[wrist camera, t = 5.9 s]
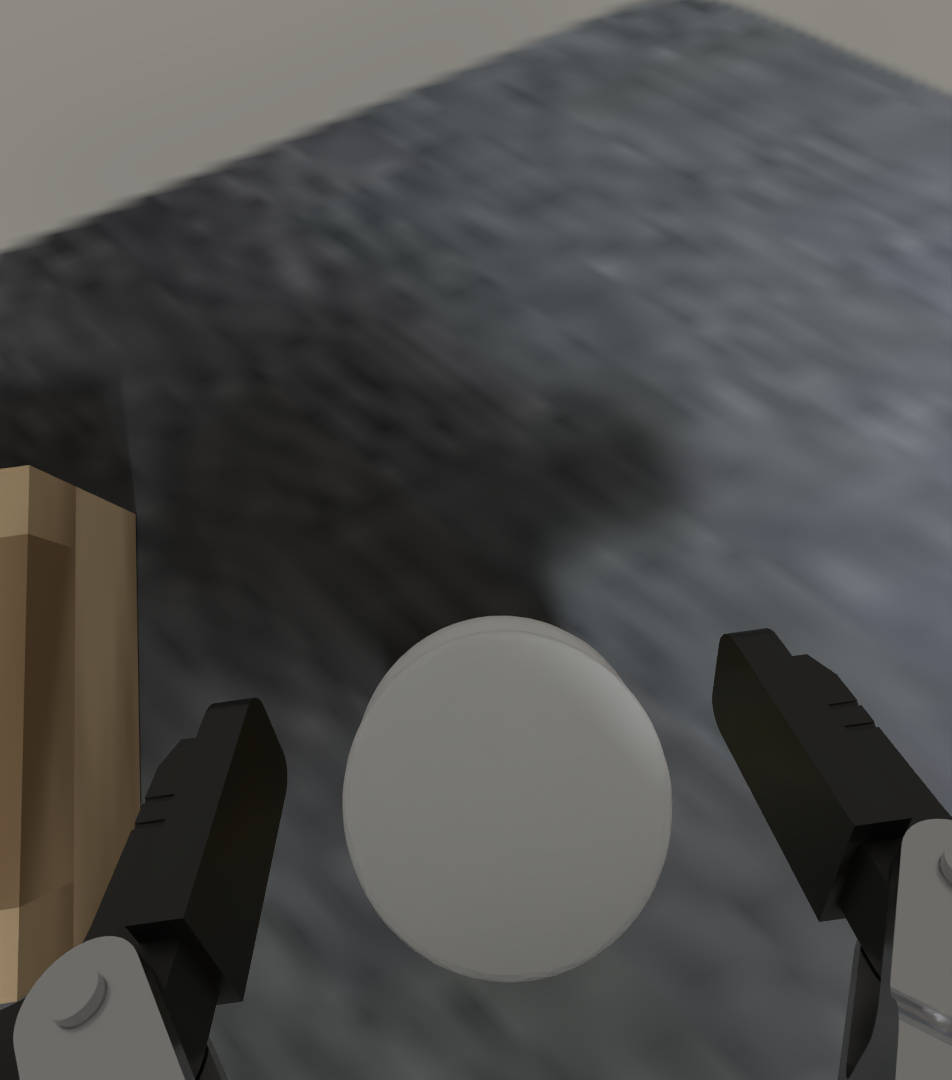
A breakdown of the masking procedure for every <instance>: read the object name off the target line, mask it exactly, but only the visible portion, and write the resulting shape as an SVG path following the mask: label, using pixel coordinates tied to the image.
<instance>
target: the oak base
mask: <svg viewBox="0 0 952 1080" xmlns="http://www.w3.org/2000/svg"><path fill="white" fill-rule="evenodd" d="M139 811H140V753H139V692H138V632H137V571H136V514H134V513H132V512H130V511H128V510H126V509H123V508H121V507H119V506H117V505H115V504H113V503H110V502H108V501H106V500H104V499H102V498H100V497H97V496H95V495H93V494H91V493H89V492H87V491H84V490H82V489H80V488H78V487H76V486H74V485H71V484H69V483H67V482H65V481H63V480H61V479H58V478H56V477H54V476H52V475H50V474H48V473H45V472H43V471H41V470H39V469H37V468H35V467H32V466H30V465H26V466H19V467H12V468H4V469H0V1004H2V1003H9V1002H16V1001H18V1000H20V999H21V998H23V997H24V996H25V995H27V994H28V993H29V991H30V990H31V989H32V987H33V986H34V984H35V983H36V981H37V980H38V979H39V978H40V977H41V976H42V974H43V973H44V972H45V971H46V970H47V969H48V968H49V967H50V966H51V965H52V964H53V963H54V962H55V961H56V960H58V959H59V958H60V957H61V956H63V955H64V954H65V953H66V952H68V951H70V950H71V949H73V948H74V947H76V946H78V945H80V944H82V942H83V940H84V939H85V937H86V935H87V933H88V931H89V929H90V927H91V925H92V922H93V920H94V917H95V915H96V913H97V910H98V908H99V906H100V903H101V901H102V899H103V896H104V894H105V891H106V889H107V887H108V884H109V882H110V880H111V877H112V875H113V873H114V870H115V868H116V865H117V863H118V861H119V858H120V856H121V854H122V851H123V849H124V846H125V844H126V842H127V839H128V837H129V835H130V832H131V830H134V828H135V824H134V823H135V820H136V818H137V816H138V813H139Z"/></svg>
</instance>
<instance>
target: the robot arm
mask: <svg viewBox="0 0 952 1080" xmlns="http://www.w3.org/2000/svg"><path fill="white" fill-rule="evenodd" d="M712 704H713V711H714V716H715V719H716V722H717V725H718V728H719V730H720V732H721V734H722V736H723V738H724V740H725V742H726V744H727V746H728V748H729V750H730V752H731V754H732V756H733V757H734V759H735V761H736V763H737V765H738V767H739V769H740V771H741V773H742V775H743V777H744V779H745V781H746V782H747V784H748V786H749V788H750V790H751V792H752V794H753V796H754V798H755V800H756V802H757V804H758V805H759V807H760V809H761V811H762V813H763V815H764V817H765V819H766V821H767V823H768V825H769V827H770V828H771V830H772V832H773V834H774V836H775V838H776V840H777V842H778V844H779V846H780V848H781V850H782V851H783V853H784V855H785V857H786V859H787V861H788V863H789V865H790V867H791V869H792V871H793V873H794V874H795V876H796V878H797V880H798V882H799V884H800V886H801V888H802V890H803V892H804V894H805V896H806V897H807V899H808V901H809V903H810V905H811V907H812V909H813V911H814V913H815V915H816V917H817V919H818V920H819V922H822V921H829V920H836V919H843V918H846V919H847V921H848V923H849V924H850V926H851V928H852V930H853V932H854V933H855V935H856V937H857V939H858V940H857V942H856V946H855V950H854V958H853V965H852V973H851V981H850V989H849V997H848V1005H847V1012H846V1020H845V1028H844V1036H843V1044H842V1052H841V1059H840V1067H839V1075H838V1080H952V817H951V816H950V815H949V813H948V812H947V811H946V810H945V809H944V808H943V806H942V805H941V804H940V803H939V802H938V800H937V799H936V798H935V797H934V795H933V794H932V793H931V792H930V790H929V789H928V788H927V787H926V785H925V784H924V783H923V782H922V780H921V779H920V778H919V777H918V775H917V774H916V773H915V772H914V770H913V769H912V768H911V767H910V765H909V764H908V763H907V762H906V760H905V759H904V758H903V757H902V755H901V754H900V753H899V752H898V750H897V749H896V748H895V747H894V745H893V744H892V743H891V742H890V740H889V739H888V738H887V737H886V735H885V734H884V733H883V732H882V730H881V729H880V728H879V727H876V726H875V724H874V720H873V719H872V718H871V717H870V715H869V714H868V713H867V712H866V710H865V709H864V708H863V707H862V705H860V706H859V705H858V703H857V699H856V698H855V697H854V696H853V694H852V693H851V692H850V691H849V689H848V688H847V687H846V686H845V684H844V683H843V682H842V681H841V679H840V678H839V677H838V676H837V674H835V673H834V672H832V671H831V670H829V669H828V668H826V667H825V666H823V665H822V664H820V663H819V662H818V661H816V660H815V659H813V658H812V657H810V656H809V655H807V654H805V655H798V656H792V655H791V654H790V652H789V651H788V650H787V648H786V647H785V646H784V644H783V643H782V642H781V640H780V639H779V638H778V636H777V635H776V634H775V633H774V632H773V631H772V630H770V629H768V628H765V629H758V630H751V631H743V632H736V633H729V634H724V635H722V637H721V639H720V642H719V649H718V656H717V664H716V671H715V678H714V686H713V693H712ZM286 789H287V766H286V760H285V756H284V753H283V750H282V748H281V746H280V743H279V741H278V739H277V736H276V734H275V732H274V729H273V727H272V725H271V722H270V720H269V718H268V715H267V713H266V710H265V708H264V706H263V704H262V702H261V701H260V700H259V699H258V698H250V699H243V700H236V701H229V702H222V703H214V704H212V705H210V706H209V708H208V709H207V711H206V713H205V716H204V718H203V721H202V724H201V726H200V729H199V732H198V734H197V737H196V738H191V739H183V740H181V741H180V742H179V743H178V744H177V745H176V747H175V748H174V749H173V750H172V751H171V753H170V754H169V755H168V756H167V757H166V758H165V760H164V761H163V762H162V763H161V764H160V766H159V767H158V768H157V771H156V773H155V775H154V778H153V780H152V783H151V785H150V787H149V790H148V792H147V794H146V797H145V800H146V801H145V804H142V806H141V809H140V811H139V813H138V816H137V818H136V820H135V823H134V824H135V828H134V830H131V832H130V835H129V837H128V839H127V842H126V844H125V846H124V849H123V851H122V854H121V856H120V858H119V861H118V863H117V865H116V868H115V870H114V873H113V875H112V877H111V880H110V882H109V884H108V887H107V889H106V891H105V894H104V896H103V899H102V901H101V903H100V906H99V908H98V910H97V913H96V915H95V917H94V920H93V922H92V925H91V927H90V929H89V931H88V933H87V935H86V937H85V939H84V940H83V942H82V944H80V945H78V946H76V947H74V948H73V949H71V950H70V951H68V952H66V953H65V954H64V955H63V956H61V957H60V958H59V959H58V960H56V961H55V962H54V963H53V964H52V965H51V966H50V967H49V968H48V969H47V970H46V971H45V972H44V973H43V974H42V976H41V977H40V978H39V979H38V980H37V981H36V983H35V984H34V986H33V987H32V989H31V990H30V991H29V993H28V995H27V997H26V998H24V999H22V1000H21V1001H19V1002H17V1003H15V1004H13V1005H11V1006H9V1007H7V1008H4V1009H2V1010H0V1080H228V1078H227V1076H226V1074H225V1071H224V1069H223V1067H222V1064H221V1062H220V1060H219V1057H218V1055H217V1053H216V1050H215V1048H214V1046H213V1043H212V1041H211V1039H210V1038H209V1033H210V1029H211V1024H212V1020H213V1016H214V1012H215V1007H216V1005H220V1004H227V1003H234V1002H241V1001H243V998H244V993H245V988H246V984H247V979H248V974H249V969H250V964H251V959H252V954H253V950H254V945H255V940H256V935H257V930H258V925H259V920H260V916H261V911H262V906H263V901H264V896H265V891H266V886H267V882H268V877H269V872H270V867H271V862H272V857H273V853H274V848H275V843H276V838H277V833H278V828H279V823H280V819H281V814H282V809H283V804H284V799H285V794H286Z"/></svg>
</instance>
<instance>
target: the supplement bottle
mask: <svg viewBox="0 0 952 1080" xmlns="http://www.w3.org/2000/svg"><path fill="white" fill-rule="evenodd" d="M343 823H344V831H345V837H346V843H347V848H348V851H349V854H350V858H351V861H352V864H353V867H354V871H355V873H356V875H357V877H358V880H359V882H360V884H361V886H362V888H363V890H364V892H365V894H366V896H367V898H368V899H369V901H370V903H371V904H372V906H373V907H374V909H375V910H376V912H377V913H378V915H379V916H380V917H381V919H382V920H383V921H384V922H385V924H386V925H387V926H388V927H389V928H390V929H391V930H392V931H393V932H394V933H395V934H396V935H397V936H398V937H399V938H400V939H401V940H402V941H403V942H404V943H406V944H407V945H408V946H409V947H411V948H412V949H413V950H414V951H416V952H417V953H419V954H420V955H422V956H423V957H425V958H427V959H428V960H430V961H431V962H433V963H434V964H436V965H438V966H440V967H443V968H445V969H447V970H450V971H452V972H454V973H457V974H460V975H464V976H468V977H472V978H475V979H480V980H484V981H492V982H526V981H534V980H539V979H543V978H548V977H552V976H555V975H558V974H561V973H564V972H566V971H569V970H571V969H573V968H575V967H577V966H579V965H581V964H583V963H585V962H587V961H588V960H590V959H591V958H593V957H594V956H596V955H598V954H599V953H600V952H602V951H603V950H605V949H606V948H607V947H609V946H610V945H611V944H612V943H613V942H614V941H615V940H617V939H618V938H619V937H620V936H621V935H622V934H623V933H624V932H625V931H626V930H627V929H628V927H629V926H630V925H631V924H632V923H633V921H634V920H635V919H636V918H637V916H638V915H639V914H640V913H641V911H642V910H643V908H644V906H645V905H646V903H647V902H648V900H649V898H650V896H651V895H652V893H653V891H654V889H655V886H656V884H657V881H658V879H659V876H660V873H661V871H662V868H663V865H664V863H665V859H666V855H667V851H668V846H669V841H670V834H671V826H672V792H671V782H670V777H669V772H668V767H667V763H666V760H665V757H664V753H663V750H662V747H661V744H660V741H659V738H658V736H657V734H656V731H655V729H654V727H653V724H652V722H651V721H650V719H649V717H648V715H647V714H646V712H645V710H644V709H643V707H642V706H641V704H640V703H639V701H638V700H637V699H636V697H635V696H634V695H633V694H632V692H631V691H630V690H629V689H628V688H627V687H626V685H625V684H624V682H623V681H622V679H621V678H620V677H619V675H618V674H617V673H616V671H615V670H614V669H613V668H612V667H611V665H610V664H609V663H608V662H607V661H606V660H605V659H604V658H603V657H602V656H601V655H600V654H599V653H598V652H597V651H595V650H594V649H593V648H592V647H591V646H590V645H588V644H587V643H585V642H584V641H582V640H581V639H579V638H577V637H575V636H574V635H572V634H570V633H568V632H566V631H564V630H562V629H560V628H558V627H556V626H554V625H551V624H548V623H545V622H542V621H538V620H534V619H530V618H524V617H516V616H485V617H478V618H473V619H469V620H465V621H461V622H458V623H455V624H452V625H450V626H447V627H444V628H442V629H440V630H438V631H436V632H434V633H432V634H431V635H429V636H427V637H426V638H424V639H423V640H421V641H420V642H418V643H417V644H415V645H414V646H413V647H412V648H410V649H409V650H408V651H407V652H406V653H405V654H404V655H403V656H401V657H400V658H399V659H398V660H397V662H396V663H395V664H394V665H393V666H392V667H391V668H390V670H389V671H388V672H387V673H386V675H385V676H384V677H383V679H382V680H381V682H380V683H379V685H378V686H377V688H376V690H375V692H374V694H373V695H372V697H371V699H370V702H369V704H368V706H367V708H366V711H365V713H364V716H363V719H362V722H361V724H360V726H359V728H358V731H357V733H356V736H355V738H354V741H353V744H352V746H351V750H350V753H349V756H348V761H347V766H346V772H345V777H344V785H343Z"/></svg>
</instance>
